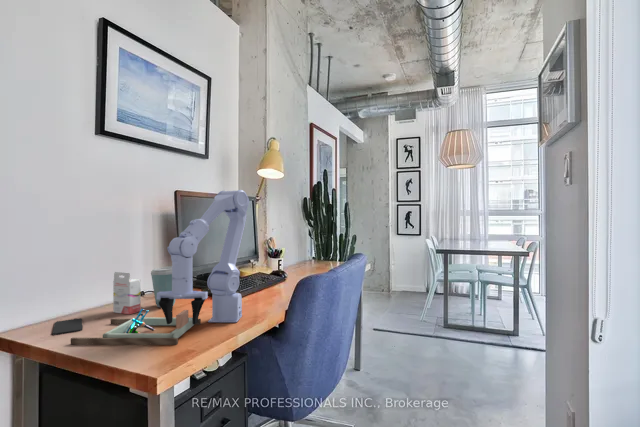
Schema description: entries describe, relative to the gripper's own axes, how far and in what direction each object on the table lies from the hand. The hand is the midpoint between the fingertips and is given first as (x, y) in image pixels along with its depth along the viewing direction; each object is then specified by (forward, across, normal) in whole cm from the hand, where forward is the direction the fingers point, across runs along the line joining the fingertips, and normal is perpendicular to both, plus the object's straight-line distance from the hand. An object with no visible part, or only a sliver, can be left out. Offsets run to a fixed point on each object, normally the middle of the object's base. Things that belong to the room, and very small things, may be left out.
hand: (182, 323), depth 103 cm
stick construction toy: (+3, -12, 0) cm, 13 cm away
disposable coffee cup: (+3, -20, +32) cm, 38 cm away
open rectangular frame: (+3, -9, 0) cm, 10 cm away
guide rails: (+3, -12, 0) cm, 13 cm away
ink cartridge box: (+3, -30, +23) cm, 38 cm away
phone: (+4, -39, +6) cm, 39 cm away
